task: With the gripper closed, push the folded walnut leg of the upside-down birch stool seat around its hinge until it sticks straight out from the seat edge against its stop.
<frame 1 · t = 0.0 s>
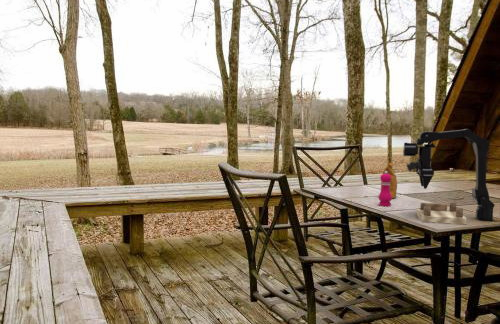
hand: (423, 187, 210), 15 cm above the table, tool pointing down, fingers open, 9 cm apart
stool seat: (440, 219, 205), on the table
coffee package: (388, 197, 267), on the table
hinged leg: (433, 206, 212), point 5 cm above the table, hinge at 0.0°
pepper mill: (384, 205, 240), on the table
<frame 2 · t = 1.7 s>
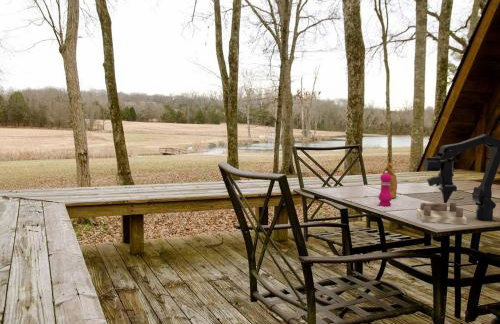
hand: (445, 203, 205), 8 cm above the table, tool pointing down, fingers closed
nothing on the table moved.
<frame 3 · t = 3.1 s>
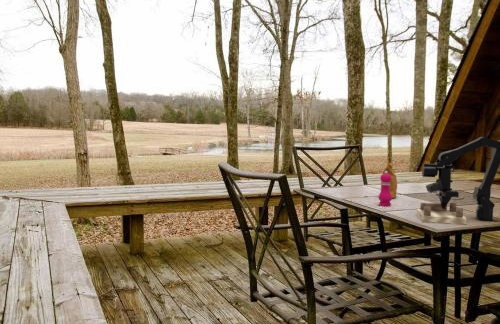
hand: (443, 208, 209), 4 cm above the table, tool pointing down, fingers closed
hinged leg: (433, 206, 212), point 5 cm above the table, hinge at 1.3°, touching gripper
everything else where it was.
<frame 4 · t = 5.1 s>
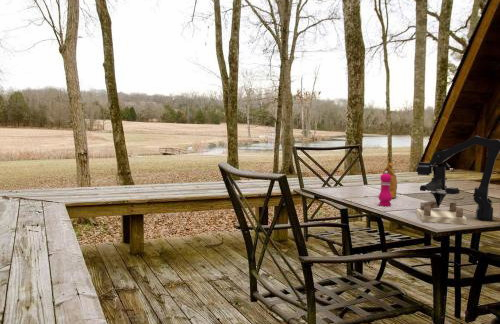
hand: (438, 206, 216), 4 cm above the table, tool pointing down, fingers closed
hinged leg: (429, 205, 216), point 5 cm above the table, hinge at 44.8°, touching gripper
everything else where it was.
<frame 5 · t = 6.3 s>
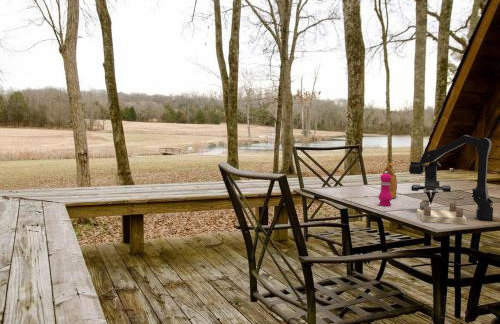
hand: (430, 204, 220), 4 cm above the table, tool pointing down, fingers closed
hinged leg: (424, 204, 217), point 5 cm above the table, hinge at 74.0°, touching gripper
everything else where it was.
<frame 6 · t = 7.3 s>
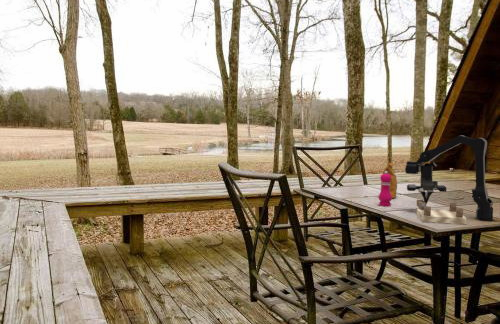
hand: (425, 204, 221), 4 cm above the table, tool pointing down, fingers closed
hinged leg: (421, 204, 218), point 5 cm above the table, hinge at 90.6°, touching gripper
everything else where it was.
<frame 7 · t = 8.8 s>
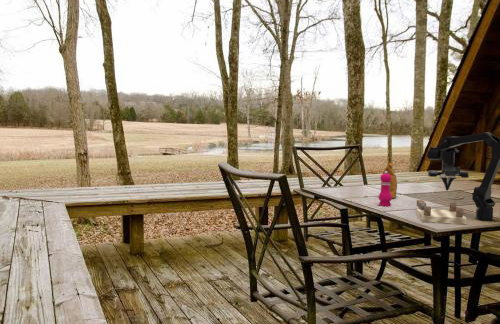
hand: (447, 190, 219), 12 cm above the table, tool pointing down, fingers closed
hinged leg: (421, 204, 218), point 5 cm above the table, hinge at 90.7°
everything else where it was.
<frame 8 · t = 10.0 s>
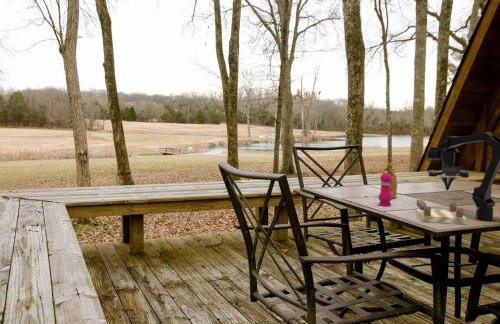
hand: (447, 190, 219), 12 cm above the table, tool pointing down, fingers closed
nothing on the table moved.
at the end: hinged leg at +91° (first picture: +0°); pepper mill moved 0.2 cm from its start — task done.
